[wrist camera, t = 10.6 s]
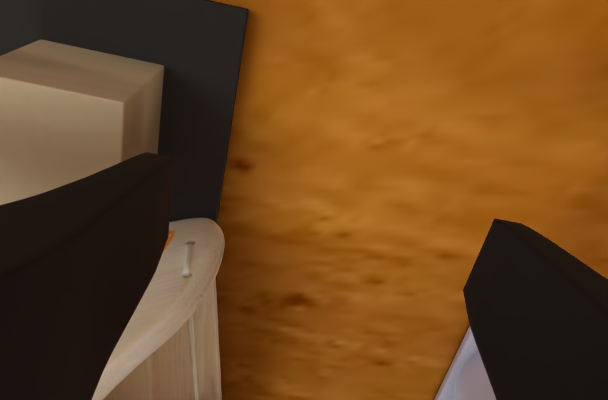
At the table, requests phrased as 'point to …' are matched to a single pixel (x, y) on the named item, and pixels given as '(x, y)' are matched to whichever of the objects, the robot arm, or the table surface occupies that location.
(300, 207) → the table surface
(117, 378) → the shape sorter
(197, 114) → the mat
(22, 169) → the top cube
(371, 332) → the table surface
